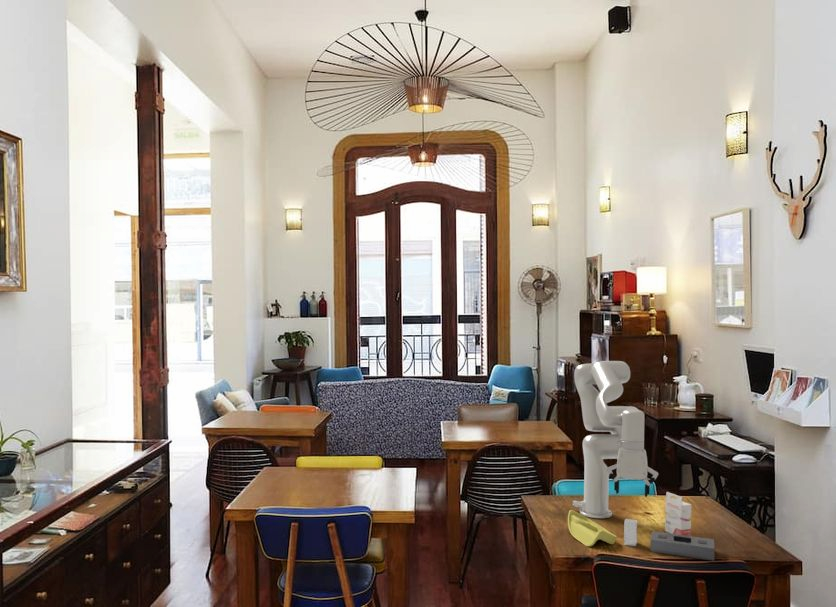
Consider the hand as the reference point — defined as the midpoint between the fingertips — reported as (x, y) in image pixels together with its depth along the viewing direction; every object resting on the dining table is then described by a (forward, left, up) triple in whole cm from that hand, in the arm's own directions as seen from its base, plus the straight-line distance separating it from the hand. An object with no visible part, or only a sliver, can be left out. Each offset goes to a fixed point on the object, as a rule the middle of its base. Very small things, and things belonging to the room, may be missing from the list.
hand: (631, 494), depth 246 cm
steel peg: (0, 0, -17) cm, 17 cm away
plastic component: (-14, +1, -18) cm, 23 cm away
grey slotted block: (+17, 0, -17) cm, 24 cm away
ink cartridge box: (+15, +19, -18) cm, 30 cm away
